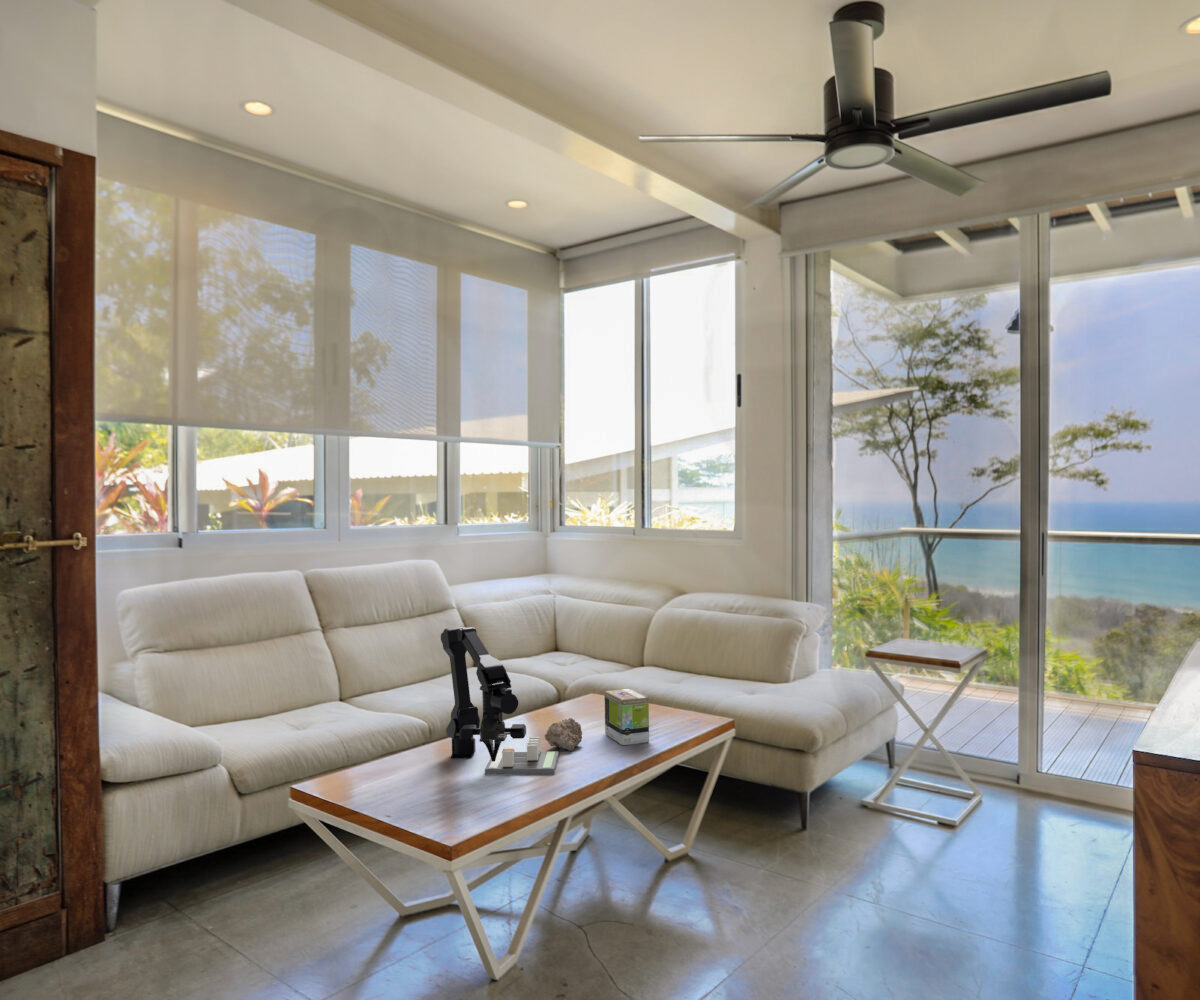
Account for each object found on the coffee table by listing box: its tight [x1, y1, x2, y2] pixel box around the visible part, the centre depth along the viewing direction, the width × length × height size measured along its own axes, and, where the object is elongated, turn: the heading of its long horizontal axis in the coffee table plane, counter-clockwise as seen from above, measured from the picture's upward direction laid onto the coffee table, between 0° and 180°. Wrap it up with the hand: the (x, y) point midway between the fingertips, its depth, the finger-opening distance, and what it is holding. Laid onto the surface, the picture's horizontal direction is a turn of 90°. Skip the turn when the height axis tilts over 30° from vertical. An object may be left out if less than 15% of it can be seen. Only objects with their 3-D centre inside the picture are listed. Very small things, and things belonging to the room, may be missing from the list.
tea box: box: [604, 688, 650, 746], centre depth 269 cm, size 15×10×15 cm
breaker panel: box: [484, 751, 560, 776], centre depth 244 cm, size 20×16×2 cm
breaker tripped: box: [501, 747, 515, 767], centre depth 239 cm, size 3×3×5 cm
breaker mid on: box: [526, 741, 538, 760], centre depth 244 cm, size 3×3×5 cm
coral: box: [544, 717, 583, 752], centre depth 261 cm, size 14×9×10 cm, turn 141°
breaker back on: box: [528, 736, 541, 754], centre depth 249 cm, size 3×3×5 cm
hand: (493, 761), depth 239 cm, fingers closed
